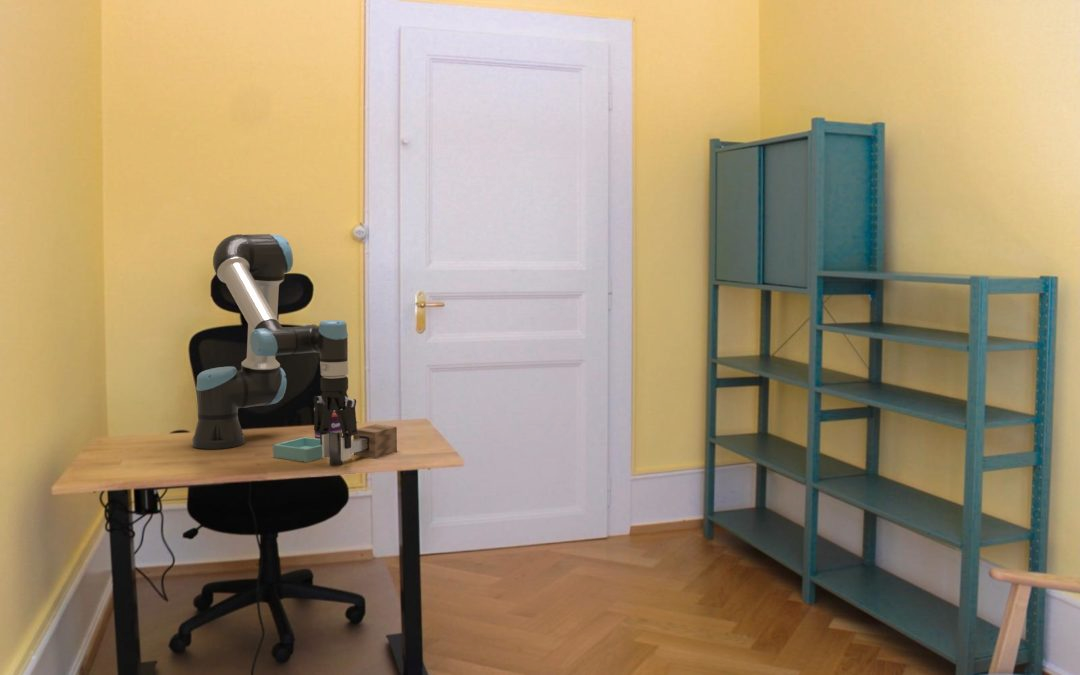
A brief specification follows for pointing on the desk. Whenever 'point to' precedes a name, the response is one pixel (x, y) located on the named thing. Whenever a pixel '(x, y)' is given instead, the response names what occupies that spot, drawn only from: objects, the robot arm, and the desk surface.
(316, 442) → the tray
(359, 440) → the grey t-shaped piece
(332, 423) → the pill bottle
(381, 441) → the mount
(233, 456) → the desk surface
